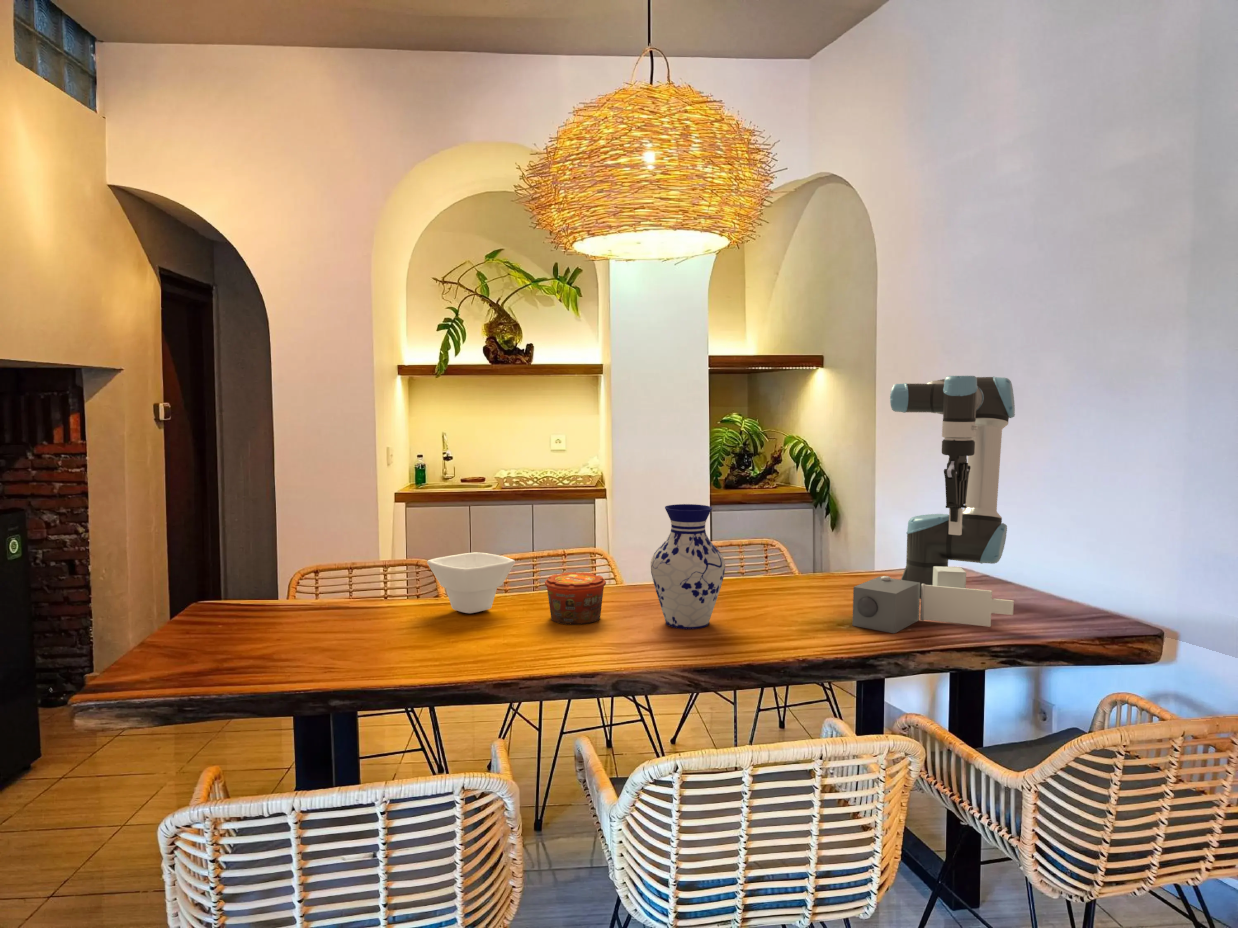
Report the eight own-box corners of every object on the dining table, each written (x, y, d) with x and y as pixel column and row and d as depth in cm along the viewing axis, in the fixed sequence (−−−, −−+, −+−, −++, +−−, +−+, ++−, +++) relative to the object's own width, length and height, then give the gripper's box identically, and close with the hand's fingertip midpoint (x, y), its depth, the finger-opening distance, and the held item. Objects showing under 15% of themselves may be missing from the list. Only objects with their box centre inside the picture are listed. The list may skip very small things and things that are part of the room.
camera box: (878, 613, 231) (879, 573, 230) (918, 620, 224) (920, 579, 223) (851, 626, 218) (852, 584, 217) (893, 634, 211) (894, 590, 210)
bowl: (521, 610, 232) (521, 559, 231) (463, 624, 218) (462, 570, 216) (478, 599, 244) (478, 550, 243) (421, 611, 230) (420, 560, 229)
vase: (731, 617, 226) (733, 504, 223) (715, 637, 208) (717, 514, 205) (661, 611, 232) (662, 501, 229) (640, 629, 214) (641, 510, 211)
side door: (920, 620, 223) (921, 584, 222) (920, 619, 224) (921, 583, 223) (1012, 629, 214) (1014, 592, 213) (1012, 628, 215) (1014, 591, 214)
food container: (534, 623, 220) (534, 581, 219) (560, 608, 235) (560, 569, 234) (592, 629, 214) (592, 587, 213) (614, 613, 229) (614, 574, 228)
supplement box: (965, 619, 224) (967, 572, 223) (935, 618, 226) (937, 570, 225) (959, 612, 232) (961, 566, 231) (931, 611, 233) (932, 565, 232)
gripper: (965, 441, 202) (962, 539, 205) (982, 438, 212) (978, 532, 215) (933, 439, 207) (930, 536, 209) (951, 436, 217) (948, 529, 219)
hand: (955, 534), depth 212 cm, fingers closed
